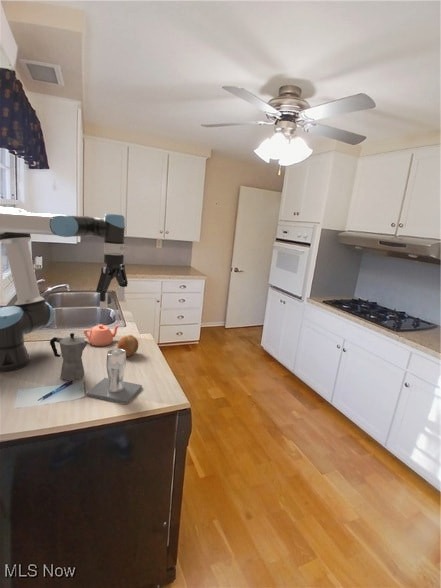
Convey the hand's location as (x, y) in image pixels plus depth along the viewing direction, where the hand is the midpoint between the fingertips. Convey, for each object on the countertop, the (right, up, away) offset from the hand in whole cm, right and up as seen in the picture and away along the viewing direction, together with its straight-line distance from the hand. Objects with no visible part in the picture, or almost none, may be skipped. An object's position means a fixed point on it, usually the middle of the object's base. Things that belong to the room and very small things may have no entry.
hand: (112, 304), depth 126 cm
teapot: (-17, -21, +33) cm, 42 cm away
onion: (0, -25, +21) cm, 33 cm away
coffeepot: (-17, -29, -2) cm, 33 cm away
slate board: (+5, -32, -11) cm, 35 cm away
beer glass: (+5, -31, -11) cm, 34 cm away
